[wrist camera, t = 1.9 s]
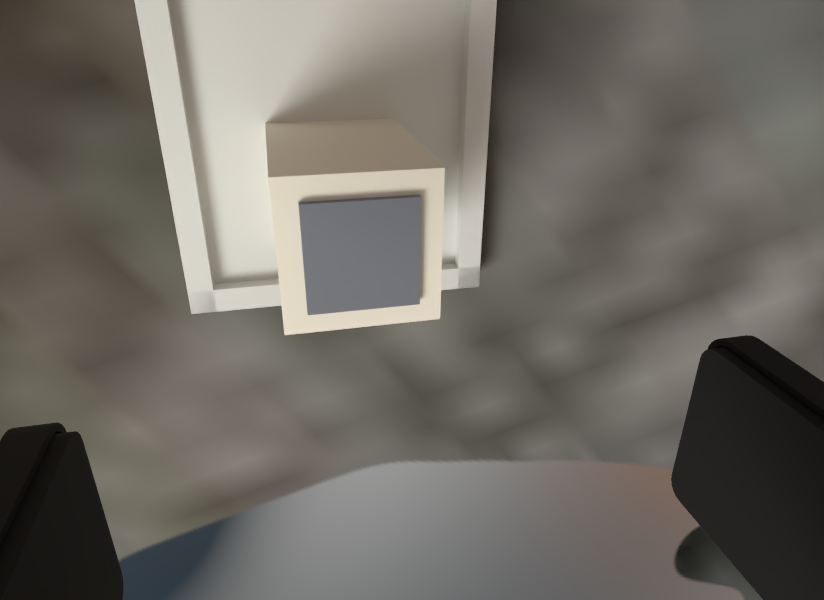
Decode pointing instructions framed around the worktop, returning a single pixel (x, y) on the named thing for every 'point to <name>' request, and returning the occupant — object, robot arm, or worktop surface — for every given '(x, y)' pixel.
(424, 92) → the tray
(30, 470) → the robot arm
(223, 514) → the worktop surface
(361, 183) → the label box
